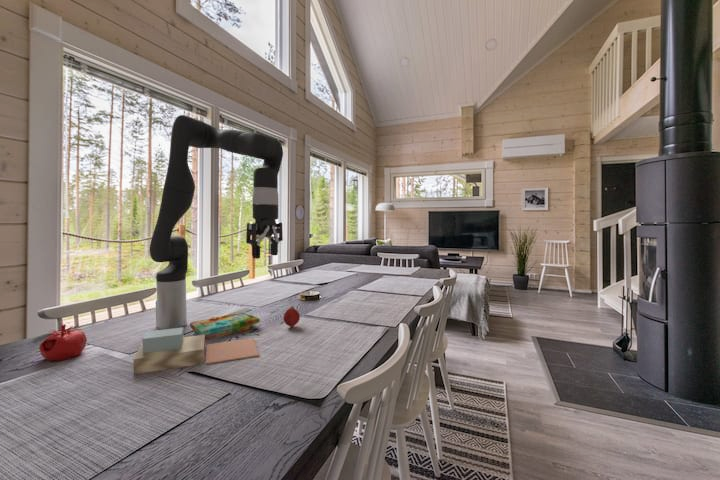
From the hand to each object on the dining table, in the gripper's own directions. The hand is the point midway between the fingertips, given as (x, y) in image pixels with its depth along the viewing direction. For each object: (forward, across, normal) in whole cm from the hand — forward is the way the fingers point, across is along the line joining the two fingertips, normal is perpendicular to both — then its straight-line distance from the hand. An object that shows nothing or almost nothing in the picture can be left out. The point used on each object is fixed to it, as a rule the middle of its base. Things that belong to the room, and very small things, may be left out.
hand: (265, 256), depth 96 cm
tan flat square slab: (+29, +6, -8) cm, 30 cm away
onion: (+29, -19, -3) cm, 34 cm away
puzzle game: (+29, -7, -22) cm, 37 cm away
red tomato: (+29, +27, -49) cm, 63 cm away
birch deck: (+29, +17, -18) cm, 38 cm away
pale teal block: (+23, +18, -20) cm, 35 cm away
